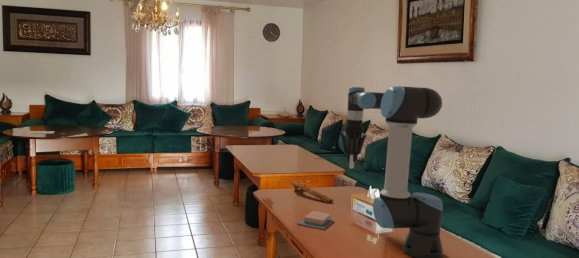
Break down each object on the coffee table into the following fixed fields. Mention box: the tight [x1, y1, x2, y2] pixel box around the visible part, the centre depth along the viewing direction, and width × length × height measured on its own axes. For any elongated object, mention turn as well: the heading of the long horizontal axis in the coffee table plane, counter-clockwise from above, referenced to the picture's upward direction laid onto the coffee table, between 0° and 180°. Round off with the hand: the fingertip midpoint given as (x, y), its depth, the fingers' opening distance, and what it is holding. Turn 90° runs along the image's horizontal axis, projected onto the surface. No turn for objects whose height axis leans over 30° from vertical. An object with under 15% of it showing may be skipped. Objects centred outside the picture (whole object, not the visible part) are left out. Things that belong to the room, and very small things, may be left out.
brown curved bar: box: [291, 180, 334, 204], centre depth 261 cm, size 33×8×10 cm, turn 28°
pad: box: [297, 218, 335, 231], centre depth 214 cm, size 13×13×1 cm
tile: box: [303, 210, 332, 226], centre depth 216 cm, size 9×2×11 cm
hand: (351, 168), depth 226 cm, fingers closed
